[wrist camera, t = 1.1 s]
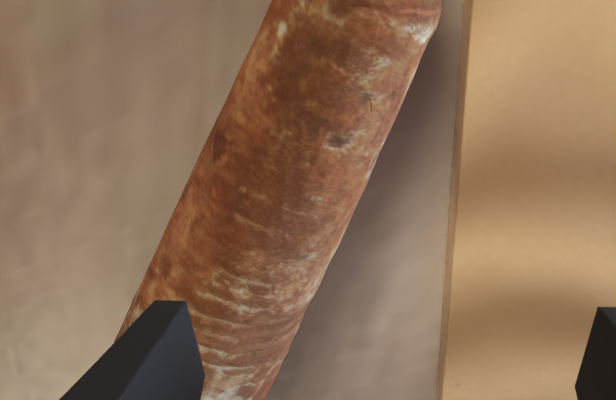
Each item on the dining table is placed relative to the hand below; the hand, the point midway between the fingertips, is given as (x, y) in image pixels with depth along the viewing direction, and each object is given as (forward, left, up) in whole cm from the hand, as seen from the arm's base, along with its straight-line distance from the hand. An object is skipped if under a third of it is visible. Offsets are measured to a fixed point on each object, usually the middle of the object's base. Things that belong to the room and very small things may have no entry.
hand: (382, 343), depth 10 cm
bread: (-2, +4, -10) cm, 11 cm away
